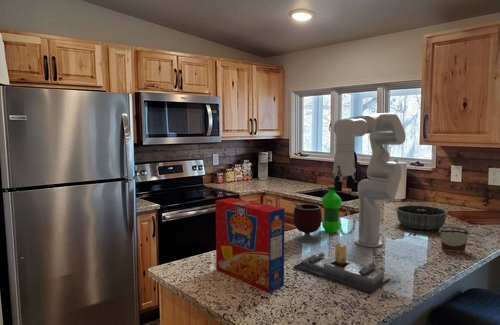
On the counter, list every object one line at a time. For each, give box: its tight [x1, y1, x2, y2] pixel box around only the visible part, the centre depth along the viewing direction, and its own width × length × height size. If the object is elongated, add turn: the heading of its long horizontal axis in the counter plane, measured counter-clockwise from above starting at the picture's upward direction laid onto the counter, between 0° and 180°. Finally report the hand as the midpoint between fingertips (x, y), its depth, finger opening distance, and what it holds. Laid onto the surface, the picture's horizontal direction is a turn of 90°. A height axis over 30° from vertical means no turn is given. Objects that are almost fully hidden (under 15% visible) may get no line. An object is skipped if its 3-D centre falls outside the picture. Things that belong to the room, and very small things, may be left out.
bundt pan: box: [395, 204, 448, 231], centre depth 200 cm, size 26×26×10 cm
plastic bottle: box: [321, 185, 343, 234], centre depth 189 cm, size 10×10×25 cm
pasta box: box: [215, 197, 285, 294], centre depth 130 cm, size 28×8×28 cm, turn 45°
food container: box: [438, 225, 470, 253], centre depth 162 cm, size 12×6×10 cm, turn 74°
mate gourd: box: [292, 201, 323, 245], centre depth 175 cm, size 16×14×20 cm
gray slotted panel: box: [293, 252, 391, 295], centre depth 134 cm, size 16×32×6 cm, turn 45°
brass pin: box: [334, 243, 347, 268], centre depth 133 cm, size 4×4×10 cm
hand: (344, 189), depth 146 cm, fingers open, 9 cm apart
